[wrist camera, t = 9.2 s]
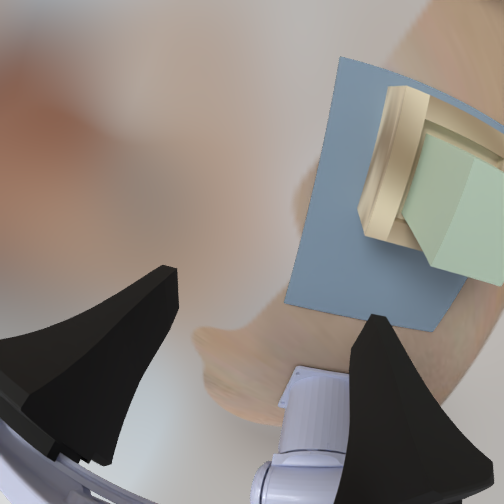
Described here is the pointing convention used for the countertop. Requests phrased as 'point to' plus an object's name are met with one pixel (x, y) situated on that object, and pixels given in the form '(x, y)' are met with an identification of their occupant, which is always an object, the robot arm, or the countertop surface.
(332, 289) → the mat
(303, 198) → the countertop surface
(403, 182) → the base brick
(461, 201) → the green brick
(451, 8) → the countertop surface
